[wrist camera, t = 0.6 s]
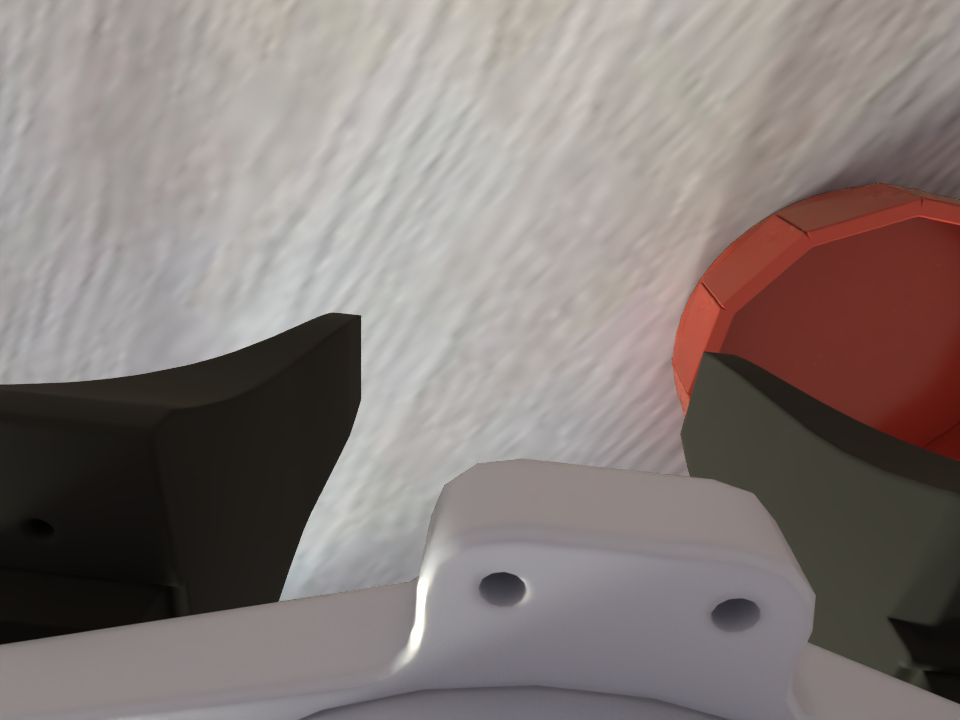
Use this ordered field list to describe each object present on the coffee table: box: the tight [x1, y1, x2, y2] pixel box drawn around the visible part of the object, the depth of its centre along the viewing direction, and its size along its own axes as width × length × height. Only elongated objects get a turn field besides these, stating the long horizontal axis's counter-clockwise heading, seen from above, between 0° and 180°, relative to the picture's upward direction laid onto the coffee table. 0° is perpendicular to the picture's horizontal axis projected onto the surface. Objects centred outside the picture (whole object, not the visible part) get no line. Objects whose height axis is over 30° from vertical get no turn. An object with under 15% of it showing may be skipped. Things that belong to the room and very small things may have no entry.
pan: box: [672, 183, 960, 461], centre depth 21 cm, size 17×11×3 cm, turn 169°
